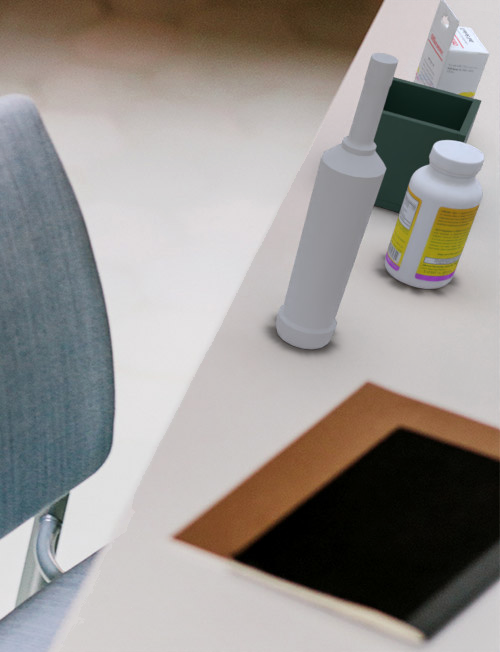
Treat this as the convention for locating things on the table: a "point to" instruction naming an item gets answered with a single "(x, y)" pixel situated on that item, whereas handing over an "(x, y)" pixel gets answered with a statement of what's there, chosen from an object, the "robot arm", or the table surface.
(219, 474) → the table surface
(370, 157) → the bottle
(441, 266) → the supplement bottle
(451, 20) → the ink box
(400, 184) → the bin
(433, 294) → the table surface
